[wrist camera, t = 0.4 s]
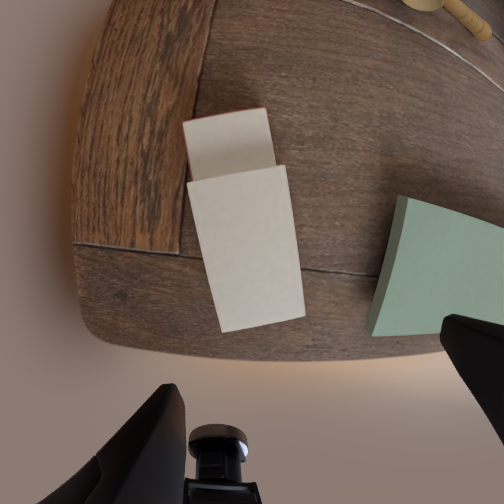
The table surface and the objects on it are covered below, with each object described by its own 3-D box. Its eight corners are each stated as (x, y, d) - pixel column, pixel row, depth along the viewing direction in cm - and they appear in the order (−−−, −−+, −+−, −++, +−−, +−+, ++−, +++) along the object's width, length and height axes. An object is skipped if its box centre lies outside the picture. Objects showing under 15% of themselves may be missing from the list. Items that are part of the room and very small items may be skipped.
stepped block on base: (292, 295, 22) (309, 329, 17) (223, 309, 22) (223, 346, 17) (262, 110, 18) (274, 92, 13) (184, 125, 18) (170, 111, 13)
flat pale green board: (546, 247, 25) (559, 252, 22) (527, 311, 27) (538, 319, 25) (387, 192, 20) (408, 197, 17) (356, 318, 23) (371, 336, 20)
